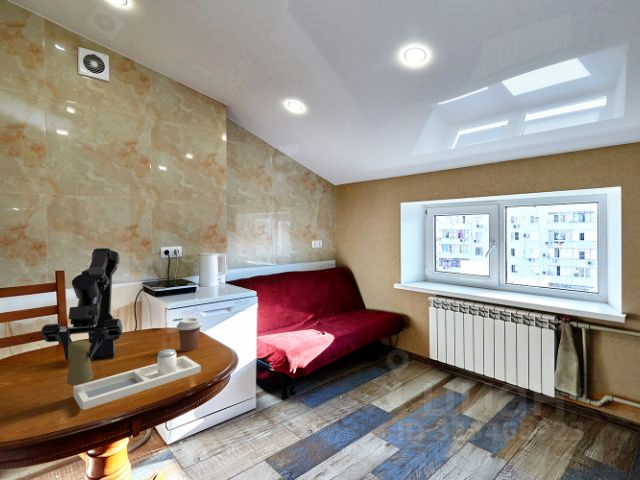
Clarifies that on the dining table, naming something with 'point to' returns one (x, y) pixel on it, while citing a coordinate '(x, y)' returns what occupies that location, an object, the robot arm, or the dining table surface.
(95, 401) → the condiment rail
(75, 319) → the robot arm
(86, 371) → the olive pepper shaker
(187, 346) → the coffee cup
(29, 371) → the dining table surface
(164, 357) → the salt shaker
